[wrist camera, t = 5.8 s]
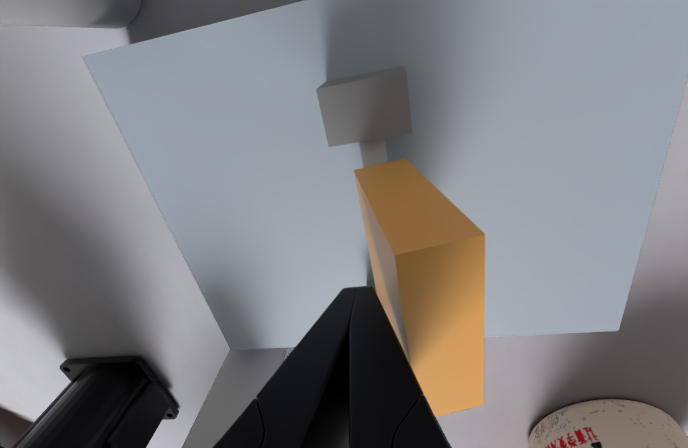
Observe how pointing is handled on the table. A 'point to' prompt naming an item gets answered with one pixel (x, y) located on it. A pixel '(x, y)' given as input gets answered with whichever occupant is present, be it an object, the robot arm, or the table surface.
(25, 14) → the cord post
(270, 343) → the panel
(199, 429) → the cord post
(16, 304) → the table surface
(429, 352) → the thick orange slab
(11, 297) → the table surface
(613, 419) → the teacup with lid
